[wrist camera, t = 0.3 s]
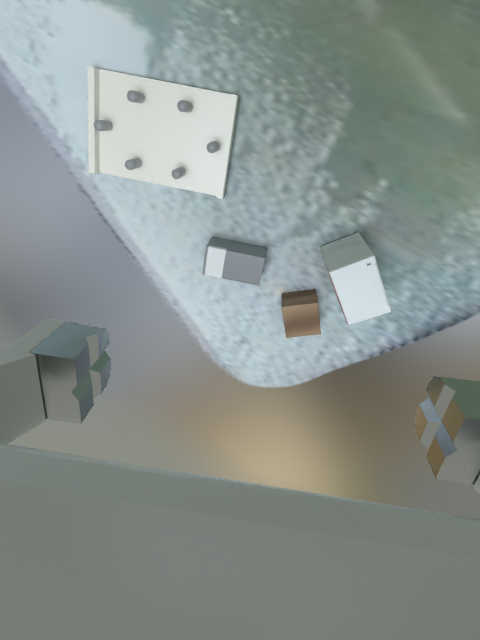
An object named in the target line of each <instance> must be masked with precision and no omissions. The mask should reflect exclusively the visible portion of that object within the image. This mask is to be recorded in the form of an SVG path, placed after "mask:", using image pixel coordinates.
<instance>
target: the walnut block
mask: <svg viewBox="0 0 480 640" xmlns="http://www.w3.org/2000/svg"><path fill="white" fill-rule="evenodd" d="M282 312H283V318H284V325H285V332H286V338H289V337H298V336H307V335H317V334H321V330H320V320H319V310H318V301H317V296H316V291H315V289H312V290H304V291H296V292H288V293H282Z"/></svg>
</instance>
